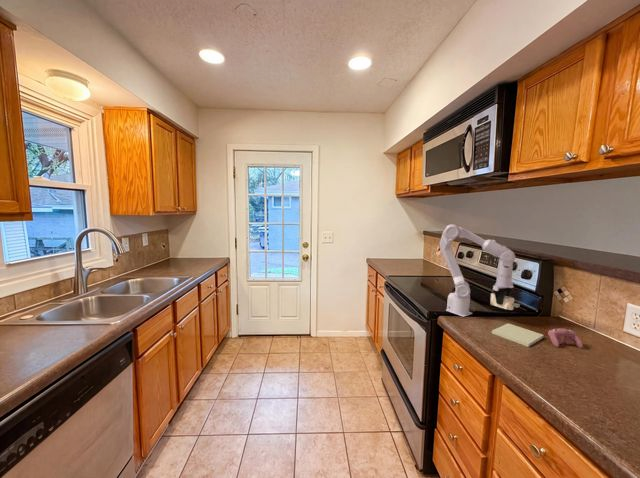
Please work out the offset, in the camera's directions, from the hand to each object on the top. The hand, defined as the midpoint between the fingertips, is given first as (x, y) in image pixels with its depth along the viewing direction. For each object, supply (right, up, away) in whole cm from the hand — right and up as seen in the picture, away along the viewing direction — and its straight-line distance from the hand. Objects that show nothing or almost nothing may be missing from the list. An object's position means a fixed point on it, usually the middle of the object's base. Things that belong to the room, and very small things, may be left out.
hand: (501, 303), depth 129 cm
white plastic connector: (0, -2, 0) cm, 2 cm away
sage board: (-4, -10, -15) cm, 19 cm away
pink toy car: (+9, -11, -22) cm, 27 cm away
